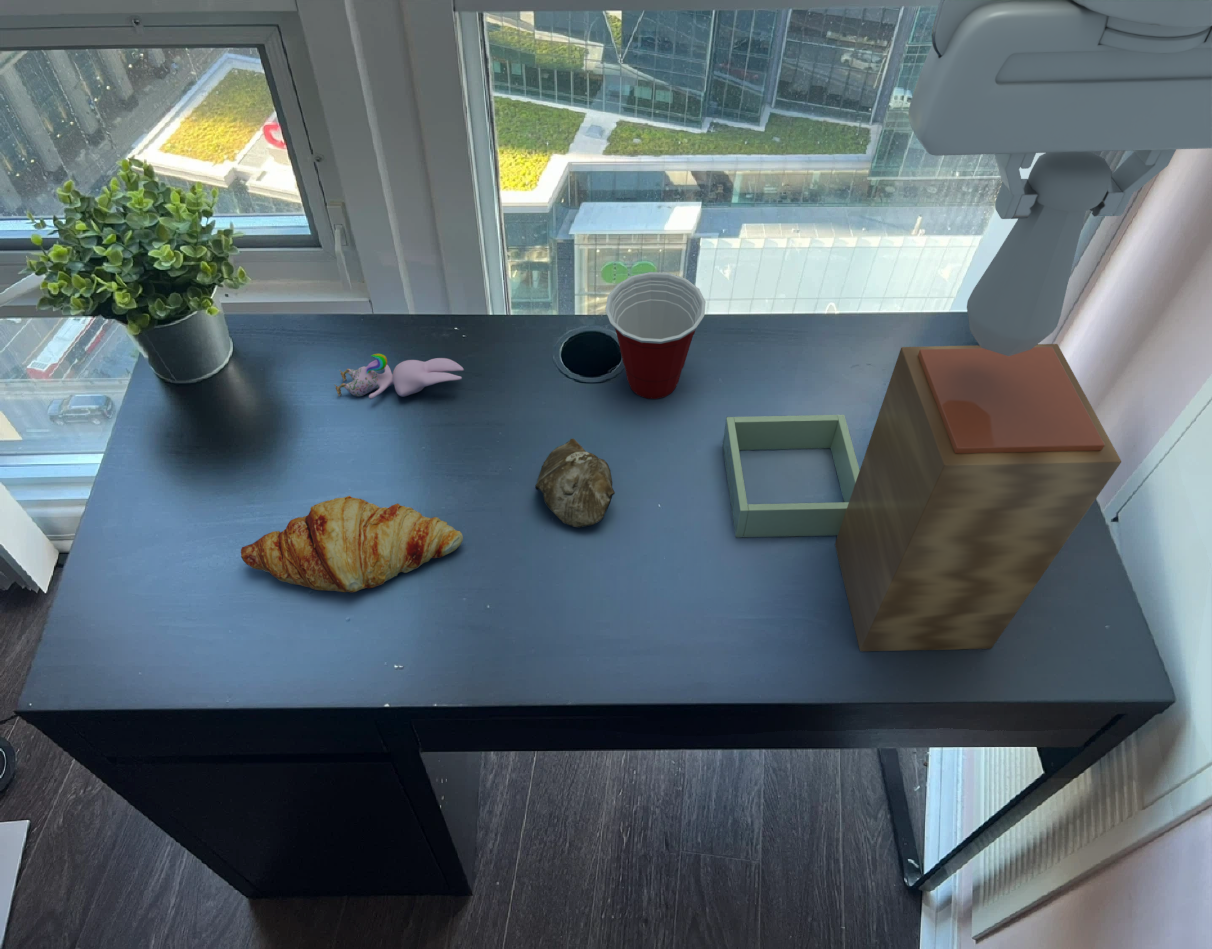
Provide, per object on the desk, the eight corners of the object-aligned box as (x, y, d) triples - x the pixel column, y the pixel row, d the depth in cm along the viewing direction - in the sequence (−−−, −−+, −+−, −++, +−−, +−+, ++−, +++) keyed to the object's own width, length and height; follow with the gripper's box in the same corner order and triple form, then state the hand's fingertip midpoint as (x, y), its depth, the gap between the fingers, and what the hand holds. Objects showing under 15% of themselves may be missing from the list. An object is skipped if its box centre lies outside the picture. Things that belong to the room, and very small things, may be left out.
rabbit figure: (340, 415, 98) (463, 403, 96) (318, 378, 94) (446, 364, 92) (353, 378, 102) (470, 365, 100) (332, 341, 98) (455, 327, 96)
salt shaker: (1035, 375, 55) (1123, 195, 45) (948, 347, 57) (1014, 170, 47) (1053, 325, 58) (1139, 148, 49) (970, 301, 60) (1036, 125, 51)
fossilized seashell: (632, 510, 84) (608, 450, 92) (595, 474, 80) (573, 414, 87) (572, 550, 86) (554, 488, 93) (533, 517, 81) (517, 454, 89)
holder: (836, 442, 93) (844, 414, 89) (860, 535, 85) (870, 507, 81) (722, 445, 93) (726, 416, 89) (735, 537, 85) (740, 510, 81)
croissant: (468, 543, 89) (459, 473, 86) (465, 590, 80) (455, 513, 77) (261, 566, 87) (245, 495, 84) (234, 616, 77) (214, 539, 74)
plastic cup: (594, 404, 97) (591, 323, 88) (622, 345, 104) (622, 264, 95) (684, 425, 95) (691, 344, 86) (708, 363, 101) (716, 282, 92)
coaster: (1049, 352, 64) (1052, 346, 63) (1101, 450, 57) (1105, 445, 57) (917, 354, 64) (919, 349, 63) (954, 453, 57) (957, 447, 57)
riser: (954, 541, 84) (1057, 343, 64) (991, 649, 76) (1122, 461, 57) (834, 543, 84) (901, 346, 64) (859, 651, 76) (944, 465, 57)
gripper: (970, -16, 38) (896, 247, 49) (1422, -28, 38) (1251, 237, 48) (932, -62, 42) (872, 189, 53) (1339, -73, 42) (1198, 180, 53)
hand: (1056, 212), depth 51 cm, fingers closed on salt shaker, 4 cm apart
